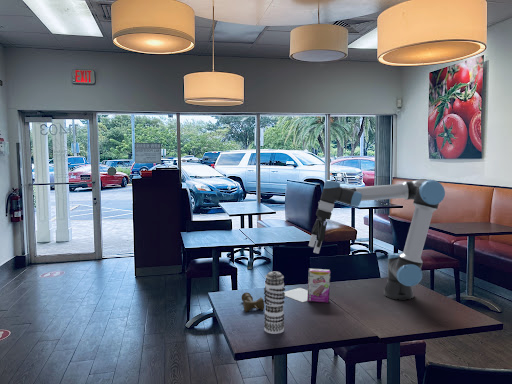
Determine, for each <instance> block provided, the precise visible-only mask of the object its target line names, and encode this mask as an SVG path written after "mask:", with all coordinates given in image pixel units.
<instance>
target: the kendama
mask: <svg viewBox="0 0 512 384" xmlns="http://www.w3.org/2000/svg"><path fill="white" fill-rule="evenodd" d="M241 301H242V303H243V307H242V308H243V310H244V312H245V313H247V312H249V311H250V310H254V309H255V310H261V311H264V310H265V302H264V301H265V299H263V297H260V298H258V299H257V300H255V301H254V298H253V296H252V294H251V293H249V292H244V293H242V295H241Z"/></svg>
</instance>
